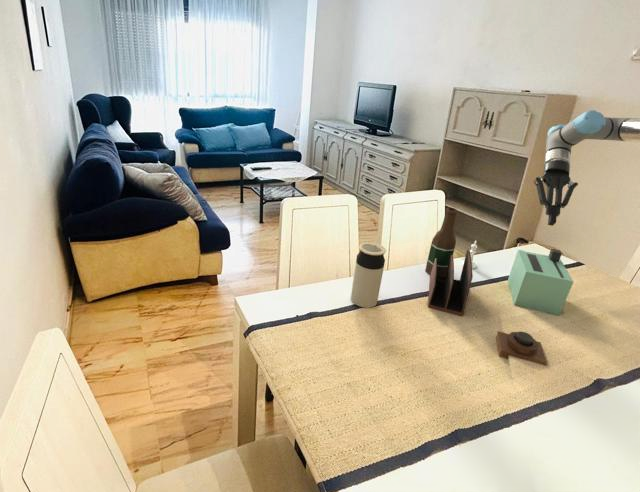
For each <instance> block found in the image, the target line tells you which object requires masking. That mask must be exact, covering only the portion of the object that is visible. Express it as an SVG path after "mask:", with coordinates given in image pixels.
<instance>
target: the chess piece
mask: <svg viewBox="0 0 640 492" xmlns="http://www.w3.org/2000/svg"><path fill="white" fill-rule="evenodd" d="M477 242H478V241H477V240H474V242H473V243H472V244H471V249H469V251H470V255H471V261H472V269H476V268H477V263H476V262H475V261H474V255H475V254H476V253H477V251H476V250H477V248H478V245H477ZM461 265H462V266H463V265H464V260H462V262H461Z"/></svg>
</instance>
